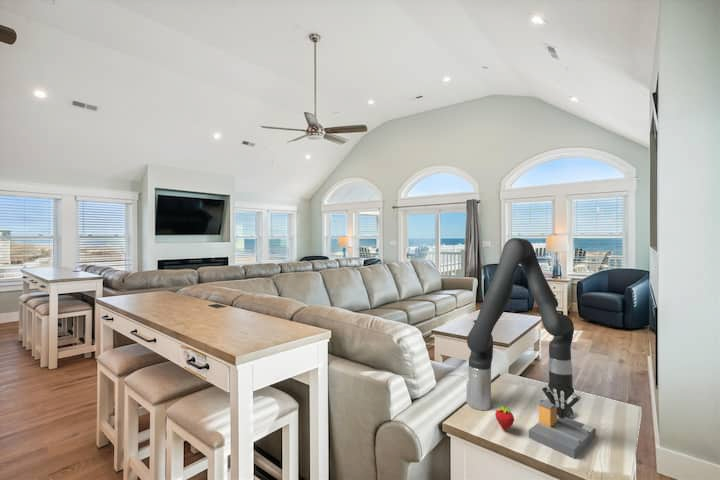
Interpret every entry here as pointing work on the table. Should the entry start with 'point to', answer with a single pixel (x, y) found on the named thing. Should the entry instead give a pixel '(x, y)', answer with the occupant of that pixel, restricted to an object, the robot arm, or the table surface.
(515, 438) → the table surface
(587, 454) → the table surface
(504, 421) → the strawberry
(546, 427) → the panel
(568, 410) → the seashell
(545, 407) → the breaker toggle
